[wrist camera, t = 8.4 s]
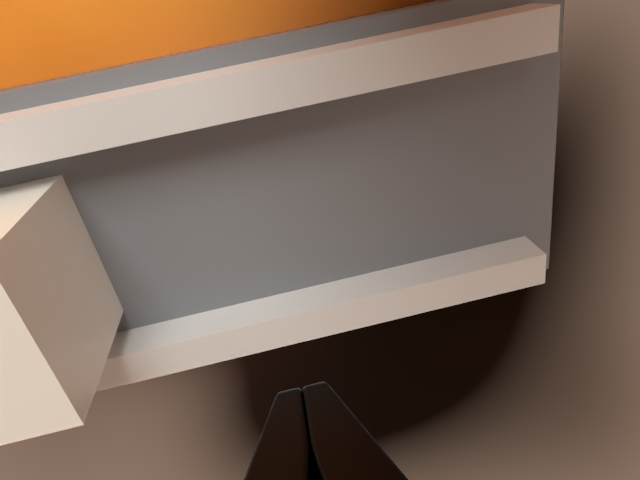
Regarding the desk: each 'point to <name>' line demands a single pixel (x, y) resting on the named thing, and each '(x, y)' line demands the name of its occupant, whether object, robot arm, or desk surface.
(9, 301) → the block
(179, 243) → the rail board
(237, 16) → the desk surface
